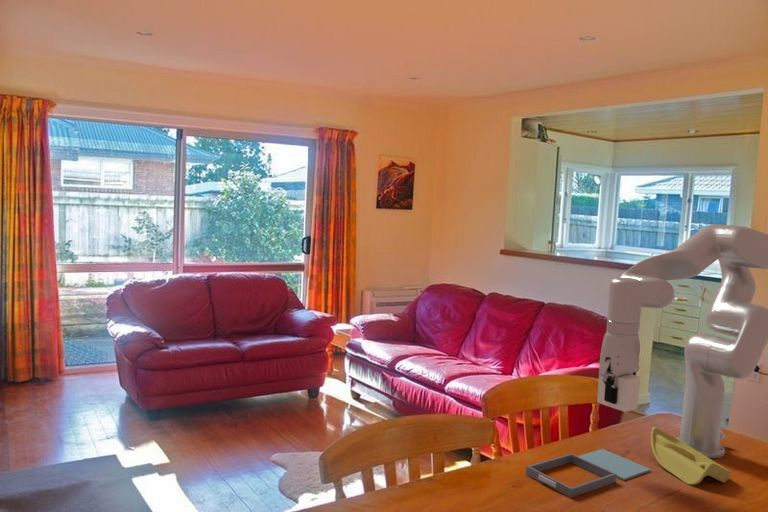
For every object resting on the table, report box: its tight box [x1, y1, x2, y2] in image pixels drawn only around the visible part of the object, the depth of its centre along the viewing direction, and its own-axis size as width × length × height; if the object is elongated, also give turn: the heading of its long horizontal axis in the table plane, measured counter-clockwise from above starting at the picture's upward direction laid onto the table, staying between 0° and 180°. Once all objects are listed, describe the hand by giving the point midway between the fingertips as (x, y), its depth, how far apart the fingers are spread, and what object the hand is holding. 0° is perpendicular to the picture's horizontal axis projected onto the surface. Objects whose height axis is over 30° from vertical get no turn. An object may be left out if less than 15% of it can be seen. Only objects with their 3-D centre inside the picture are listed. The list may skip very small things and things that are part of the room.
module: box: [596, 370, 641, 413], centre depth 155 cm, size 5×8×8 cm, turn 35°
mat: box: [577, 448, 652, 481], centre depth 157 cm, size 11×14×1 cm
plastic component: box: [650, 426, 732, 486], centre depth 157 cm, size 20×7×10 cm
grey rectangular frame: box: [525, 453, 617, 499], centre depth 147 cm, size 17×13×2 cm
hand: (617, 399), depth 155 cm, fingers closed on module, 5 cm apart
